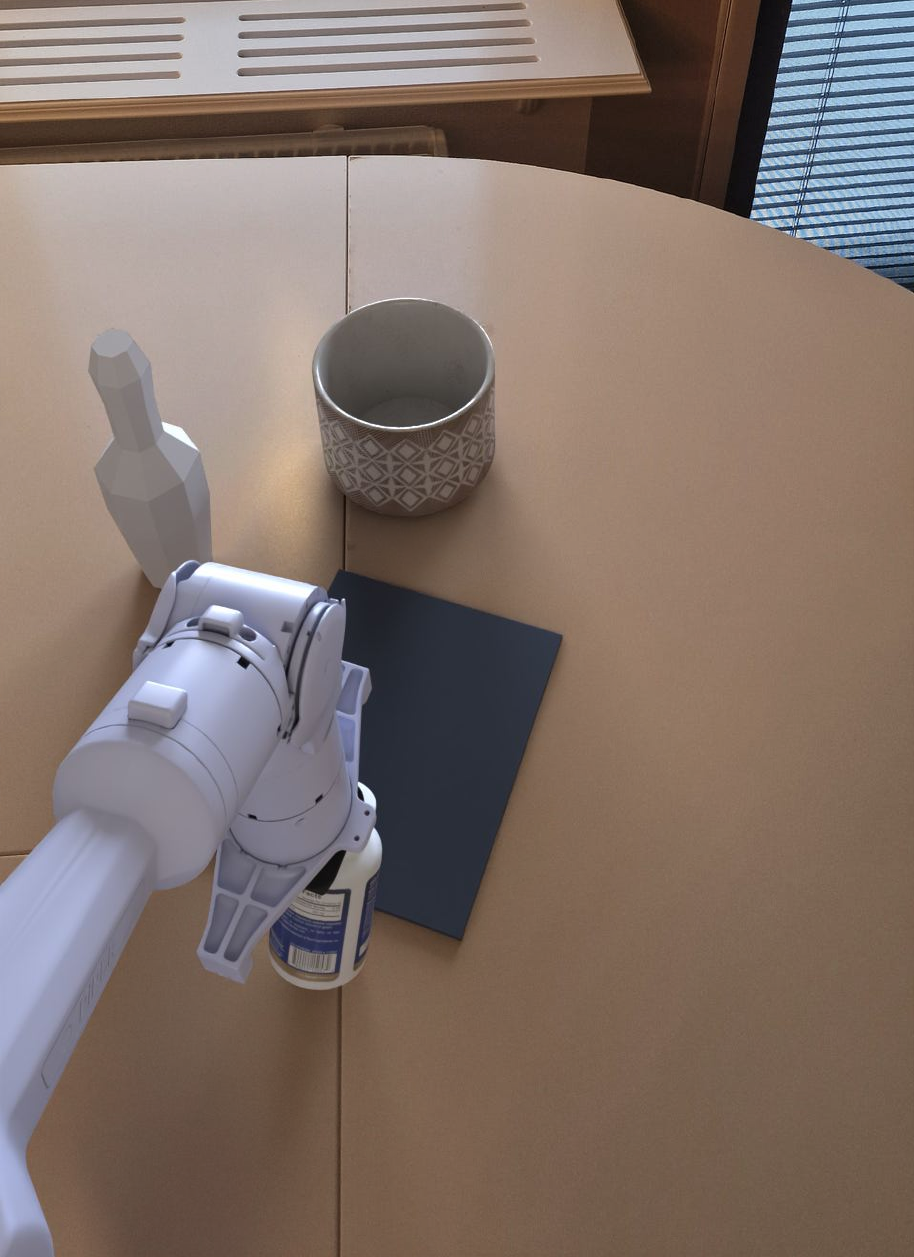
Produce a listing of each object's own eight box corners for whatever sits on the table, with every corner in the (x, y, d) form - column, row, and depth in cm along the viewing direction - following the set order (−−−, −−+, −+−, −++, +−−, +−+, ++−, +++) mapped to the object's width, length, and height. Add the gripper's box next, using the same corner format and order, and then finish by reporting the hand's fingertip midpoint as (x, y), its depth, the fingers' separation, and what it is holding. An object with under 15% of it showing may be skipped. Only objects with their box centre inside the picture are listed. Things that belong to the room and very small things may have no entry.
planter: (497, 524, 92) (497, 429, 84) (319, 527, 92) (304, 432, 85) (492, 391, 101) (492, 295, 94) (331, 394, 101) (318, 299, 94)
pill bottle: (327, 905, 73) (349, 756, 71) (385, 967, 70) (410, 811, 67) (246, 943, 70) (266, 787, 67) (303, 1010, 66) (326, 847, 64)
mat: (461, 942, 71) (461, 939, 71) (202, 846, 75) (202, 843, 75) (562, 638, 85) (562, 634, 85) (339, 571, 89) (338, 568, 89)
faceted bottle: (241, 551, 90) (190, 331, 75) (179, 618, 87) (111, 399, 72) (175, 511, 93) (112, 290, 78) (111, 573, 89) (33, 354, 74)
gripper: (290, 959, 50) (325, 1060, 60) (422, 640, 60) (434, 771, 69) (131, 897, 52) (189, 1005, 61) (284, 597, 62) (314, 730, 71)
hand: (310, 878), depth 65 cm, fingers closed, pressing on pill bottle
